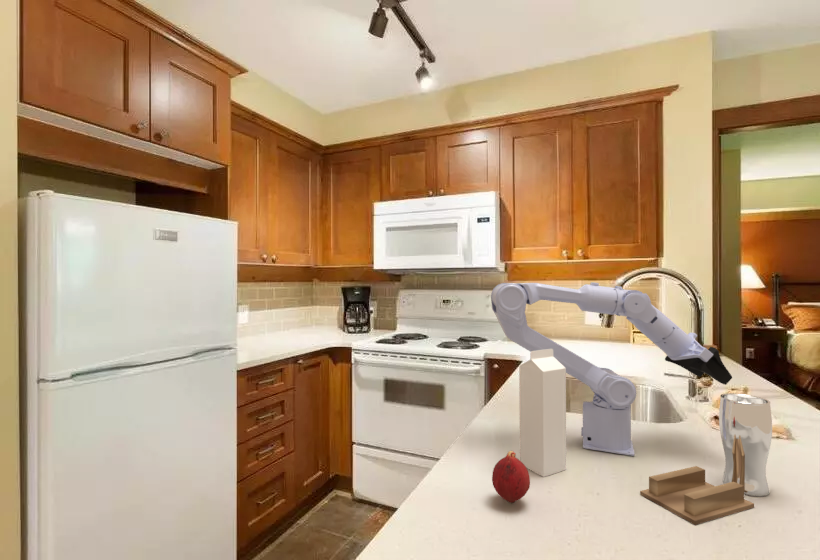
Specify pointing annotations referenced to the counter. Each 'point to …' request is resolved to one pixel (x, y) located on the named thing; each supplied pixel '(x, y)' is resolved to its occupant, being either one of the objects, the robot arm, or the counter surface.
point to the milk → (543, 413)
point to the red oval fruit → (511, 478)
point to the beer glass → (746, 440)
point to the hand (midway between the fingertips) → (714, 376)
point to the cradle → (695, 495)
